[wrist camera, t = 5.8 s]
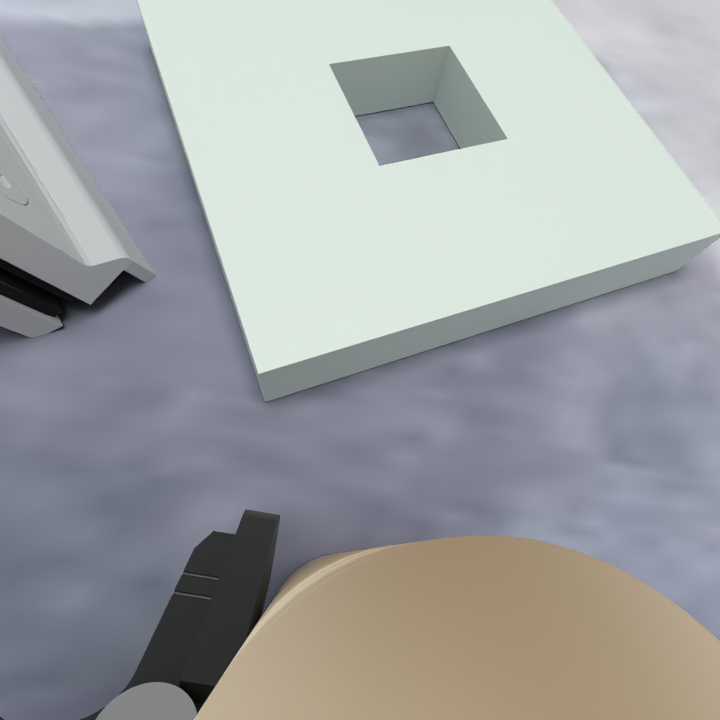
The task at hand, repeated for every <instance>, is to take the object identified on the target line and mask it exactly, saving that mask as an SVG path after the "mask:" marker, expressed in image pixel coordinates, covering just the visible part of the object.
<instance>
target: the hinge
mask: <svg viewBox="0 0 720 720" xmlns="http://www.w3.org/2000/svg"><path fill="white" fill-rule="evenodd" d="M123 270H124V271H126V272H128V273H130V274H131V275H133V276H135V277H137V278H139V279H140V280H142V281H144V282H147V281H148V280H150V279H151V278H153V277H154V276H155V275H156V274H155V273H154V271H153V270H152V268H151V266H150V265H149V263H148V262H147V260H146V259H145V257H144V256H143V254H142V253H141V251H140V249H139V248H138V246H137V245H136V243H135V242H134V240H133V239H132V237H131V236H130V234H129V232H128V231H127V229H126V228H125V226H124V225H123V223H122V222H121V220H120V219H119V217H118V215H117V214H116V212H115V211H114V209H113V208H112V206H111V205H110V203H109V202H108V200H107V199H106V197H105V195H104V194H103V192H102V191H101V189H100V188H99V186H98V185H97V183H96V182H95V180H94V178H93V177H92V175H91V174H90V172H89V171H88V169H87V168H86V166H85V165H84V163H83V161H82V160H81V158H80V157H79V155H78V154H77V152H76V151H75V149H74V148H73V146H72V144H71V143H70V141H69V140H68V138H67V137H66V135H65V134H64V132H63V131H62V129H61V128H60V126H59V124H58V123H57V121H56V120H55V118H54V117H53V115H52V114H51V112H50V111H49V109H48V107H47V106H46V104H45V103H44V101H43V100H42V98H41V97H40V95H39V94H38V92H37V90H36V89H35V87H34V86H33V84H32V83H31V81H30V80H29V78H28V77H27V75H26V73H25V72H24V70H23V69H22V67H21V66H20V64H19V63H18V61H17V60H16V58H15V57H14V55H13V53H12V52H11V50H10V49H9V47H8V46H7V44H6V43H5V41H4V40H3V38H2V37H1V36H0V326H1V327H4V328H6V329H9V330H12V331H14V332H17V333H20V334H22V335H25V336H28V337H30V338H34V337H38V336H42V335H45V334H48V333H50V332H52V331H54V330H56V329H58V328H60V327H62V326H63V325H62V323H61V321H60V319H59V317H58V314H59V313H61V312H62V309H61V307H60V305H59V303H58V302H57V300H56V298H55V296H54V295H53V294H55V295H57V296H59V297H61V298H63V299H65V300H67V301H69V302H71V303H74V302H75V301H76V300H78V299H80V300H82V301H84V302H86V303H88V304H90V305H91V304H92V303H93V302H94V300H95V299H96V298H97V297H98V296H99V295H100V294H101V293H102V292H103V291H104V290H105V289H106V288H107V287H108V286H109V285H110V284H111V283H112V282H113V280H114V279H115V278H116V277H117V276H118V275H119V274H120V273H121V272H122V271H123Z"/></svg>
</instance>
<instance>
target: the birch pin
mask: <svg viewBox="0 0 720 720" xmlns="http://www.w3.org/2000/svg"><path fill="white" fill-rule="evenodd" d="M194 720H720V641H719V640H718V639H716V638H715V637H714V636H713V635H712V634H711V633H710V632H709V631H707V630H706V629H705V628H704V627H703V626H702V625H701V624H699V623H698V622H697V621H696V620H695V619H694V618H693V617H692V616H690V615H689V614H688V613H687V612H686V611H684V610H683V609H682V608H680V607H679V606H677V605H676V604H675V603H673V602H672V601H670V600H669V599H668V598H666V597H665V596H663V595H662V594H660V593H659V592H658V591H656V590H655V589H653V588H652V587H651V586H649V585H648V584H646V583H644V582H642V581H640V580H638V579H637V578H635V577H633V576H631V575H629V574H627V573H626V572H624V571H622V570H620V569H618V568H616V567H615V566H613V565H611V564H609V563H606V562H603V561H601V560H598V559H596V558H593V557H591V556H588V555H586V554H583V553H581V552H578V551H576V550H573V549H570V548H566V547H562V546H558V545H554V544H550V543H546V542H542V541H537V540H533V539H525V538H515V537H506V536H496V535H484V536H459V537H448V538H441V539H434V540H426V541H419V542H412V543H405V544H398V545H391V546H384V547H377V548H370V549H363V550H355V551H348V552H341V553H334V554H328V555H323V556H320V557H317V558H314V559H312V560H310V561H308V562H306V563H304V564H303V565H301V566H300V567H298V568H297V569H296V570H295V571H294V572H293V573H292V574H291V575H290V576H289V577H288V578H287V579H286V580H285V582H284V583H283V585H282V586H281V587H280V589H279V590H278V592H277V594H276V595H275V597H274V598H273V600H272V601H271V603H270V604H269V606H268V607H267V609H266V610H265V612H264V613H263V615H262V616H261V618H260V619H259V621H258V622H257V624H256V625H255V627H254V629H253V630H252V632H251V633H250V635H249V636H248V638H247V639H246V641H245V642H244V644H243V645H242V647H241V648H240V650H239V651H238V653H237V654H236V656H235V657H234V659H233V660H232V662H231V664H230V665H229V667H228V668H227V670H226V671H225V673H224V674H223V676H222V677H221V679H220V680H219V682H218V683H217V685H216V686H215V688H214V689H213V691H212V692H211V694H210V695H209V697H208V699H207V700H206V702H205V703H204V705H203V706H202V708H201V709H200V711H199V712H198V714H197V715H196V717H195V718H194Z"/></svg>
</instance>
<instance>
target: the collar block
mask: <svg viewBox="0 0 720 720" xmlns="http://www.w3.org/2000/svg"><path fill="white" fill-rule="evenodd" d="M137 4H138V7H139V11H140V14H141V17H142V21H143V24H144V28H145V31H146V34H147V38H148V41H149V45H150V48H151V51H152V54H153V57H154V60H155V63H156V66H157V70H158V73H159V76H160V79H161V82H162V85H163V88H164V91H165V94H166V97H167V101H168V104H169V107H170V110H171V113H172V116H173V119H174V122H175V125H176V128H177V132H178V135H179V138H180V141H181V144H182V147H183V150H184V153H185V156H186V159H187V162H188V166H189V169H190V172H191V175H192V178H193V181H194V184H195V187H196V190H197V193H198V197H199V200H200V203H201V206H202V209H203V212H204V215H205V218H206V221H207V224H208V228H209V231H210V234H211V237H212V240H213V243H214V246H215V249H216V252H217V255H218V259H219V262H220V265H221V268H222V271H223V274H224V277H225V280H226V283H227V286H228V290H229V293H230V296H231V299H232V302H233V305H234V308H235V311H236V314H237V317H238V320H239V324H240V327H241V330H242V333H243V336H244V339H245V342H246V345H247V348H248V351H249V355H250V358H251V361H252V364H253V367H254V370H255V373H256V376H257V379H258V382H259V386H260V389H261V392H262V395H263V398H264V401H265V402H267V401H270V400H274V399H277V398H280V397H283V396H286V395H289V394H292V393H295V392H299V391H302V390H305V389H308V388H311V387H314V386H317V385H321V384H324V383H327V382H330V381H333V380H336V379H339V378H342V377H346V376H349V375H352V374H355V373H358V372H361V371H364V370H367V369H371V368H374V367H377V366H380V365H383V364H386V363H389V362H393V361H396V360H399V359H402V358H405V357H408V356H411V355H414V354H418V353H421V352H424V351H427V350H430V349H433V348H436V347H439V346H443V345H446V344H449V343H452V342H455V341H458V340H461V339H464V338H468V337H471V336H474V335H477V334H480V333H483V332H486V331H490V330H493V329H496V328H499V327H502V326H505V325H508V324H511V323H515V322H518V321H521V320H524V319H527V318H530V317H533V316H536V315H540V314H543V313H546V312H549V311H552V310H555V309H558V308H561V307H565V306H568V305H571V304H574V303H577V302H580V301H583V300H587V299H590V298H593V297H596V296H599V295H602V294H605V293H608V292H612V291H615V290H618V289H621V288H624V287H627V286H630V285H633V284H637V283H640V282H643V281H646V280H649V279H652V278H655V277H659V276H662V275H665V274H668V273H671V272H674V271H677V270H678V269H679V268H681V267H682V266H683V265H684V264H686V263H687V262H688V261H690V260H691V259H692V258H694V257H695V256H696V255H698V254H699V253H700V252H701V251H703V250H704V249H705V248H707V247H708V246H709V245H711V244H712V243H713V242H714V241H716V240H717V239H718V238H720V220H719V218H718V217H717V216H716V214H715V213H714V212H713V210H712V209H711V208H710V206H709V205H708V204H707V203H706V201H705V200H704V199H703V197H702V196H701V195H700V193H699V192H698V191H697V189H696V188H695V187H694V186H693V184H692V183H691V182H690V180H689V179H688V178H687V176H686V175H685V174H684V172H683V171H682V170H681V169H680V167H679V166H678V165H677V163H676V162H675V161H674V159H673V158H672V157H671V155H670V154H669V153H668V152H667V150H666V149H665V148H664V146H663V145H662V144H661V142H660V141H659V140H658V138H657V137H656V136H655V134H654V133H653V132H652V131H651V129H650V128H649V127H648V125H647V124H646V123H645V121H644V120H643V119H642V117H641V116H640V115H639V114H638V112H637V111H636V110H635V108H634V107H633V106H632V104H631V103H630V102H629V100H628V99H627V98H626V97H625V95H624V94H623V93H622V91H621V90H620V89H619V87H618V86H617V85H616V83H615V82H614V81H613V79H612V78H611V77H610V76H609V74H608V73H607V72H606V70H605V69H604V68H603V66H602V65H601V64H600V62H599V61H598V60H597V59H596V57H595V56H594V55H593V53H592V52H591V51H590V49H589V48H588V47H587V45H586V44H585V43H584V42H583V40H582V39H581V38H580V36H579V35H578V34H577V32H576V31H575V30H574V28H573V27H572V26H571V25H570V23H569V22H568V21H567V19H566V18H565V17H564V15H563V14H562V13H561V11H560V10H559V9H558V7H557V6H556V5H555V4H554V2H553V1H552V0H137ZM429 102H434V104H435V106H436V107H437V109H438V111H439V113H440V114H441V116H442V118H443V120H444V121H445V123H446V125H447V127H448V128H449V130H450V132H451V133H452V135H453V137H454V139H455V140H456V142H457V144H458V146H459V147H460V149H458V150H453V151H448V152H444V153H439V154H434V155H429V156H425V157H420V158H415V159H411V160H406V161H401V162H396V163H392V164H387V165H382V166H379V164H378V162H377V160H376V158H375V156H374V154H373V152H372V150H371V148H370V146H369V144H368V142H367V140H366V138H365V136H364V134H363V132H362V130H361V128H360V126H359V124H358V122H357V120H356V118H355V116H358V115H364V114H369V113H375V112H380V111H386V110H391V109H397V108H402V107H407V106H413V105H418V104H424V103H429Z"/></svg>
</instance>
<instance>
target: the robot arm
mask: <svg viewBox="0 0 720 720" xmlns="http://www.w3.org/2000/svg"><path fill="white" fill-rule="evenodd" d="M279 521H280V515H275V514H269V513H263V512H258V511H252V510H245V512H244V514H243V516H242V519H241V521H240V524H239V527H238V529H237V532H236V535H234V534H228V533H222V532H216V531H213V532H212V533H211V534H210V535H209V536H208V537H207V538H205V539H204V540H203V541H202V542H201V543H200V544H199V545H198V546H196V547H195V548H194V550H193V552H192V554H191V557H190V559H189V561H188V563H187V565H186V567H185V569H184V572H183V575H182V576H181V578H180V580H179V582H178V584H177V586H176V588H175V591H174V594H173V595H172V597H171V599H170V601H169V603H168V605H167V607H166V609H165V611H164V613H163V616H162V618H161V620H160V622H159V624H158V626H157V628H156V630H155V632H154V635H153V637H152V639H151V641H150V643H149V645H148V647H147V649H146V651H145V654H144V656H143V658H142V660H141V662H140V664H139V666H138V668H137V670H136V672H135V674H134V676H133V678H132V680H131V681H130V682H129V684H128V685H127V686H126V688H125V689H124V690H123V691H122V692H121V693H120V694H119V695H118V696H117V697H116V698H114V699H113V700H112V701H111V702H110V703H109V704H108V705H107V706H105V707H104V708H102V709H101V710H99V711H98V712H96V713H94V714H92V715H90V716H88V717H86V718H84V719H81V720H194V718H195V717H196V715H197V714H198V712H199V711H200V709H201V708H202V706H203V705H204V703H205V702H206V700H207V699H208V697H209V695H210V694H211V692H212V691H213V689H214V688H215V686H216V685H217V683H218V682H219V680H220V679H221V677H222V676H223V674H224V673H225V671H226V670H227V668H228V667H229V665H230V664H231V662H232V660H233V659H234V657H235V656H236V654H237V653H238V651H239V650H240V648H241V647H242V645H243V644H244V642H245V641H246V639H247V638H248V636H249V635H250V633H251V632H252V630H253V629H254V627H255V625H256V624H257V622H258V621H259V619H260V618H261V615H262V611H263V607H264V603H265V599H266V595H267V590H268V585H269V581H270V575H271V570H272V564H273V558H274V552H275V546H276V539H277V533H278V527H279ZM0 720H4V719H2V718H1V717H0Z"/></svg>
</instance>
